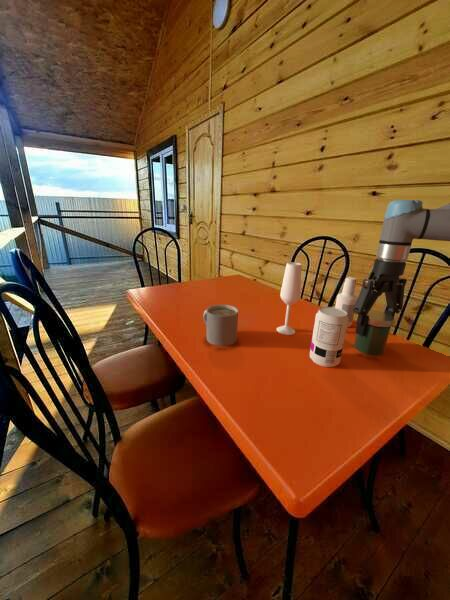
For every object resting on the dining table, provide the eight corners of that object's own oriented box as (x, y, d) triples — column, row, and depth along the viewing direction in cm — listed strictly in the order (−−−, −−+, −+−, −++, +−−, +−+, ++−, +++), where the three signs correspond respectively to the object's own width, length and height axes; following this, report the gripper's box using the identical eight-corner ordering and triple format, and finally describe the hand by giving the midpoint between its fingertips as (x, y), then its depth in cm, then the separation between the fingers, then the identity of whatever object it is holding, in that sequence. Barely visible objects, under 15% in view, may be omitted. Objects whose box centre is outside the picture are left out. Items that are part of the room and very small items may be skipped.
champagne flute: (274, 326, 93) (281, 261, 85) (292, 326, 94) (300, 261, 86) (279, 334, 87) (287, 265, 79) (298, 334, 87) (308, 265, 79)
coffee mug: (242, 341, 82) (244, 312, 78) (216, 349, 76) (217, 318, 73) (220, 325, 92) (221, 299, 89) (196, 331, 87) (195, 304, 84)
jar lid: (375, 328, 71) (377, 322, 71) (351, 316, 80) (353, 310, 79) (400, 325, 74) (402, 319, 73) (374, 313, 82) (376, 308, 81)
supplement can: (303, 355, 75) (310, 307, 70) (326, 350, 78) (334, 305, 73) (321, 370, 68) (331, 319, 63) (346, 365, 70) (357, 315, 65)
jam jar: (381, 345, 82) (389, 315, 79) (386, 358, 75) (395, 325, 71) (352, 340, 85) (359, 310, 81) (354, 352, 78) (362, 320, 74)
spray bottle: (347, 329, 93) (358, 281, 87) (329, 323, 97) (337, 277, 91) (354, 324, 97) (364, 278, 91) (336, 318, 102) (344, 275, 96)
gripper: (406, 256, 77) (388, 324, 85) (349, 258, 71) (334, 330, 78) (432, 261, 70) (410, 334, 78) (370, 263, 64) (353, 342, 71)
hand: (372, 332), depth 78 cm, fingers closed on jar lid, 9 cm apart
